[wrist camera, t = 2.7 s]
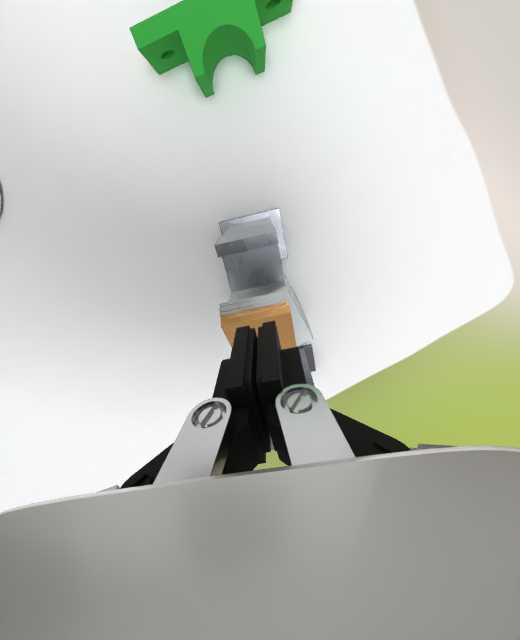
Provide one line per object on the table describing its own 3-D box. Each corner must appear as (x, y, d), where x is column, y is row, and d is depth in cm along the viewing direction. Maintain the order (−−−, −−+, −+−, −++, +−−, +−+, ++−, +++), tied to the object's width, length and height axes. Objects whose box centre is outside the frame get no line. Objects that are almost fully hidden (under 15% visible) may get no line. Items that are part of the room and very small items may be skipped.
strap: (212, 300, 15) (212, 325, 14) (292, 283, 14) (298, 308, 13) (261, 398, 25) (263, 417, 24) (307, 390, 25) (311, 409, 24)
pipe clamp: (175, 112, 23) (156, 96, 19) (153, 58, 22) (128, 27, 18) (300, 55, 22) (309, 24, 17) (286, -7, 20) (293, -58, 16)
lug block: (219, 222, 27) (197, 240, 17) (278, 208, 26) (290, 218, 16) (232, 268, 29) (218, 308, 19) (287, 256, 28) (302, 291, 18)
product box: (256, 330, 32) (256, 367, 26) (230, 288, 30) (222, 316, 23) (303, 308, 31) (315, 340, 24) (279, 262, 29) (286, 284, 22)
